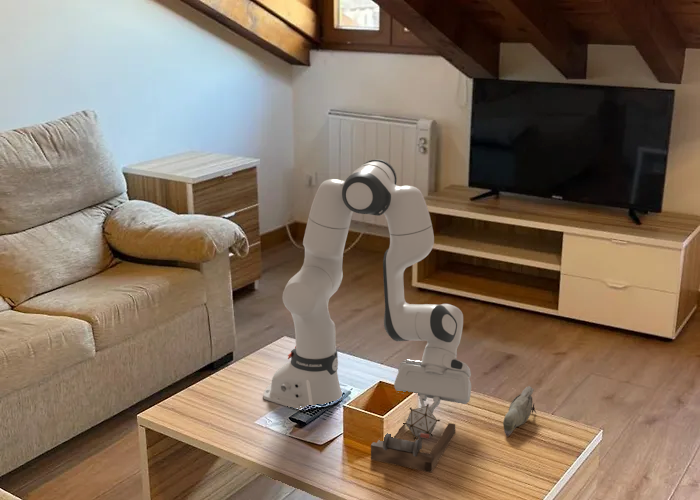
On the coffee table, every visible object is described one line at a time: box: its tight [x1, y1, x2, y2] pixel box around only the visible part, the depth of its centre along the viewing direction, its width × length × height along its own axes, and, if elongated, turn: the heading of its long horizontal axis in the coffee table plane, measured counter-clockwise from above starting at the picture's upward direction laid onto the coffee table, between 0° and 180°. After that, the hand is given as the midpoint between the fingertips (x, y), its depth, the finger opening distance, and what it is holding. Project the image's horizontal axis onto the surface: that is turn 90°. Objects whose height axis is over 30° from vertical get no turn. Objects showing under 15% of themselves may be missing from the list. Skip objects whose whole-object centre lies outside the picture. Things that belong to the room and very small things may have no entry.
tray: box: [370, 423, 456, 473], centre depth 209 cm, size 16×21×10 cm
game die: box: [403, 403, 441, 441], centre depth 215 cm, size 9×8×10 cm
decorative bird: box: [502, 385, 537, 438], centre depth 220 cm, size 5×16×8 cm, turn 148°
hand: (426, 413), depth 218 cm, fingers closed
